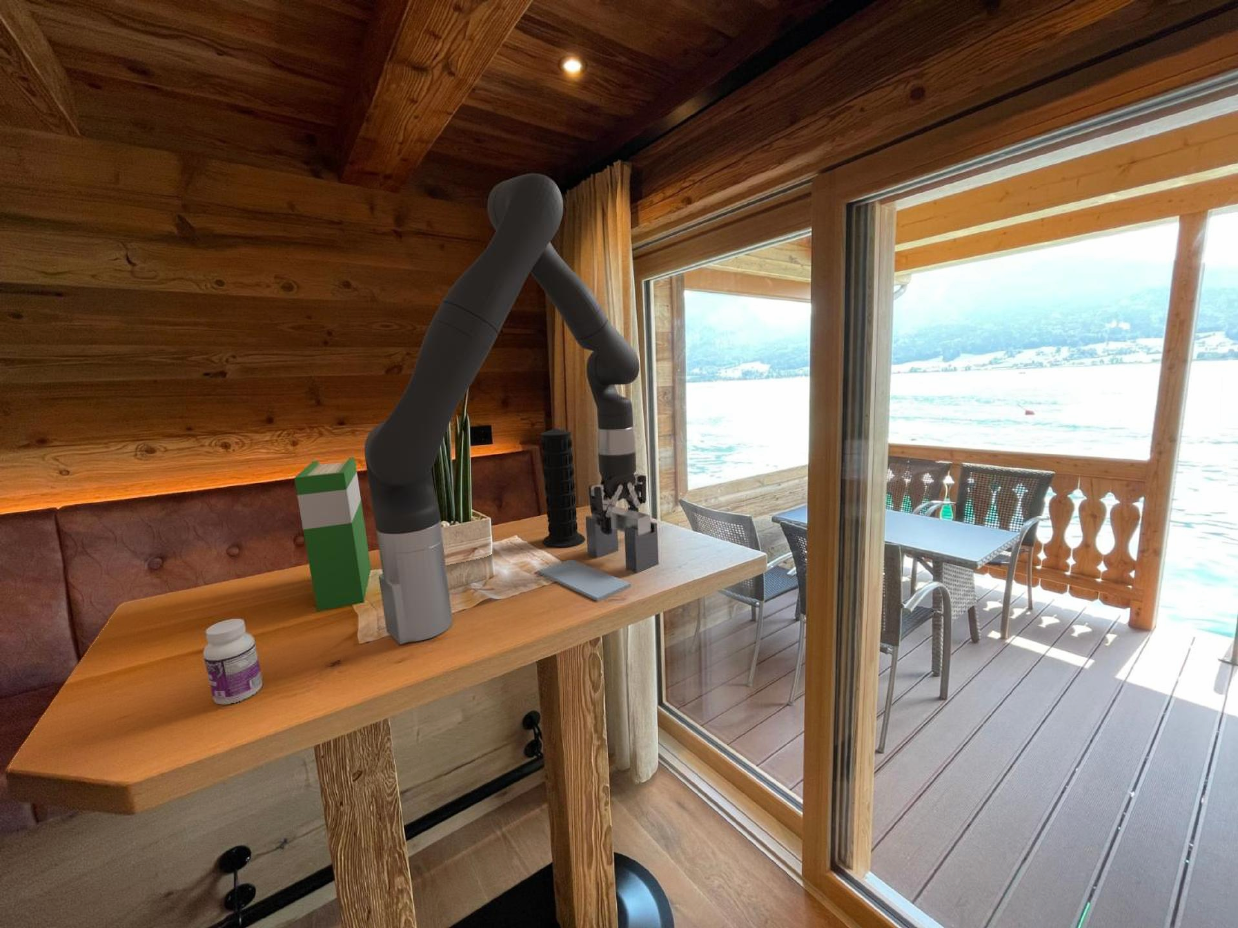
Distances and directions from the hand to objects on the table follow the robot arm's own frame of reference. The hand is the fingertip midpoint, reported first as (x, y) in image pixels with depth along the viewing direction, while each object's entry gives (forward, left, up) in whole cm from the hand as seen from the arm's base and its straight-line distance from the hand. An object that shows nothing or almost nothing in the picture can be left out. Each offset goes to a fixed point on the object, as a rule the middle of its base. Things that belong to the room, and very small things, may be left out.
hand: (620, 529), depth 106 cm
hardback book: (-45, +30, -7) cm, 55 cm away
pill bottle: (-65, +4, -7) cm, 65 cm away
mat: (-12, -2, -7) cm, 14 cm away
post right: (0, -6, -7) cm, 9 cm away
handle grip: (-1, +19, -7) cm, 20 cm away
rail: (0, 0, 0) cm, 0 cm away
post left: (0, +6, -7) cm, 9 cm away
